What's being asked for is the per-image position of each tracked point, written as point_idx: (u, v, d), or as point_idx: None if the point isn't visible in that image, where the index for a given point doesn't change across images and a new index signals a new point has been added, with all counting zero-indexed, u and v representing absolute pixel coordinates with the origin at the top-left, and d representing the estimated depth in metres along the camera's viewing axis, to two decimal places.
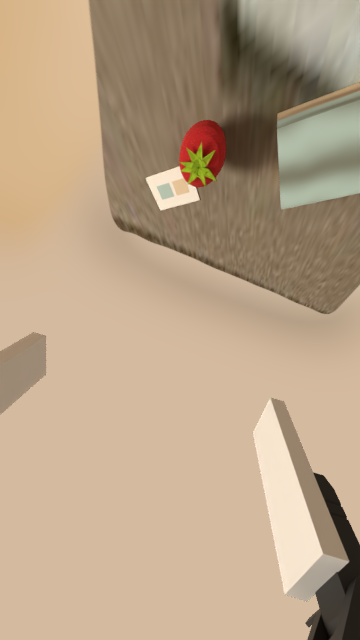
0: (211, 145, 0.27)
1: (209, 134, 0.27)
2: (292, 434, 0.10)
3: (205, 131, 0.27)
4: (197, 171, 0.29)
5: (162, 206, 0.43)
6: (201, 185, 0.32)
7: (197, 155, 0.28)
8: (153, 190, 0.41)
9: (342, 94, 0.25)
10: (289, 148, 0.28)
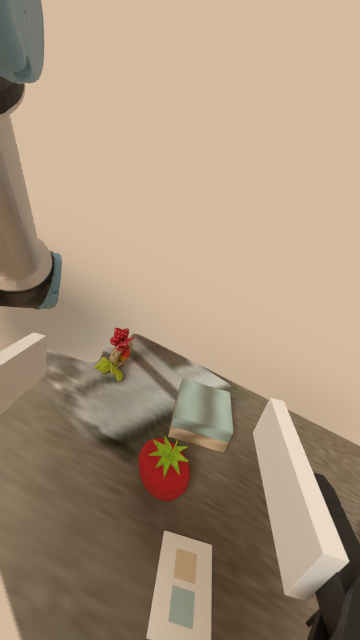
0: (160, 441, 0.31)
1: (152, 440, 0.31)
2: (292, 434, 0.10)
3: (148, 443, 0.31)
4: (172, 458, 0.28)
5: None
6: (187, 472, 0.28)
7: (160, 448, 0.29)
8: (171, 639, 0.21)
9: (176, 402, 0.45)
10: (189, 413, 0.39)
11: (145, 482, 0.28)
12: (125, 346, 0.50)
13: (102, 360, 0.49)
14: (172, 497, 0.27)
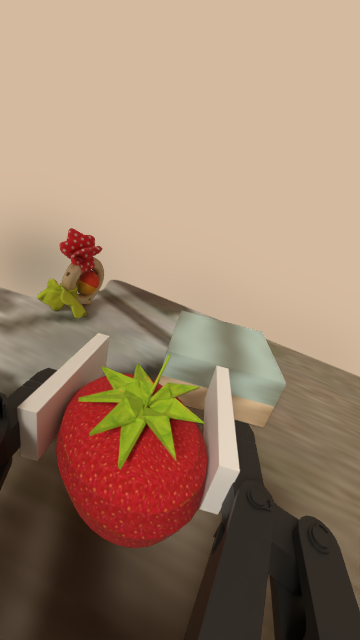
0: None
1: None
2: (226, 391, 0.12)
3: (93, 381, 0.11)
4: (154, 410, 0.09)
5: None
6: (201, 454, 0.09)
7: (118, 385, 0.10)
8: None
9: None
10: (195, 350, 0.20)
11: (66, 487, 0.09)
12: (88, 264, 0.31)
13: (49, 284, 0.29)
14: (151, 539, 0.08)
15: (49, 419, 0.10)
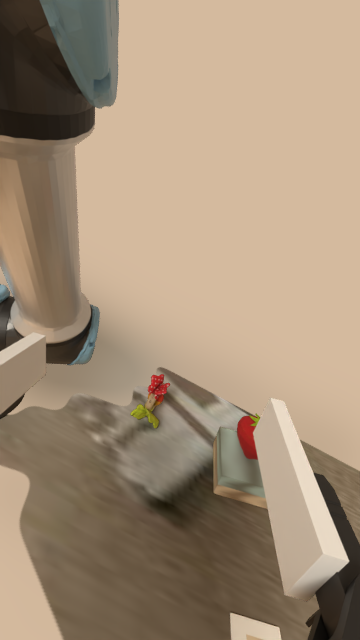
0: (252, 417, 0.41)
1: (246, 417, 0.41)
2: (292, 434, 0.10)
3: (244, 418, 0.41)
4: None
5: None
6: None
7: (256, 421, 0.39)
8: None
9: (215, 452, 0.45)
10: (235, 471, 0.39)
11: (248, 445, 0.38)
12: None
13: (138, 407, 0.48)
14: None
15: None
